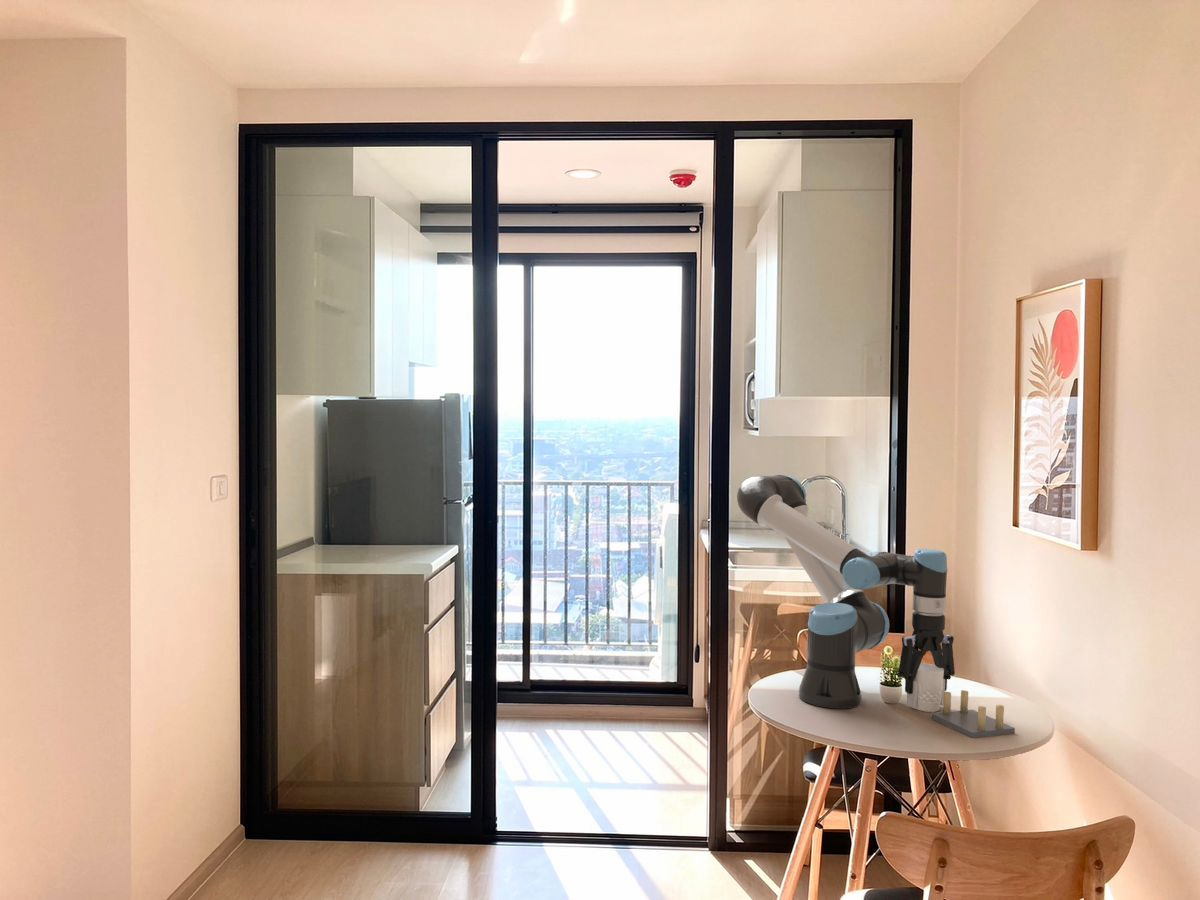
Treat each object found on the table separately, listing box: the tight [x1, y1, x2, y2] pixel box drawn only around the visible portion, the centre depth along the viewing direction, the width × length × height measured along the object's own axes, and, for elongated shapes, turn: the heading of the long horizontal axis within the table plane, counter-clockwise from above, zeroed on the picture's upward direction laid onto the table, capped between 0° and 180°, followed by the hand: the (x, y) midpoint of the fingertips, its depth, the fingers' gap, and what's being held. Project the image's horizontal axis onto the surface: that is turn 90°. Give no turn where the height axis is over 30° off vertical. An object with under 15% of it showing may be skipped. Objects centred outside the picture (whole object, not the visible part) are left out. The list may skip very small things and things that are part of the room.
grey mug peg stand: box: [931, 689, 1016, 739], centre depth 192 cm, size 12×13×6 cm
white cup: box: [910, 662, 944, 713], centre depth 204 cm, size 8×8×10 cm
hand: (925, 705), depth 205 cm, fingers closed on white cup, 8 cm apart
